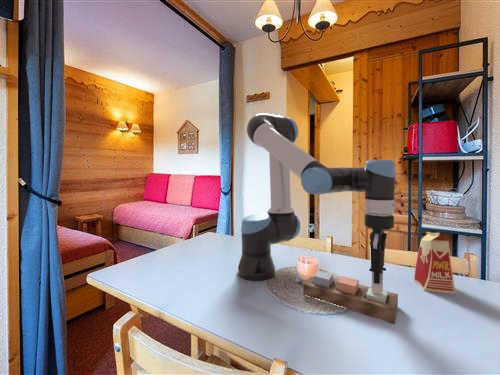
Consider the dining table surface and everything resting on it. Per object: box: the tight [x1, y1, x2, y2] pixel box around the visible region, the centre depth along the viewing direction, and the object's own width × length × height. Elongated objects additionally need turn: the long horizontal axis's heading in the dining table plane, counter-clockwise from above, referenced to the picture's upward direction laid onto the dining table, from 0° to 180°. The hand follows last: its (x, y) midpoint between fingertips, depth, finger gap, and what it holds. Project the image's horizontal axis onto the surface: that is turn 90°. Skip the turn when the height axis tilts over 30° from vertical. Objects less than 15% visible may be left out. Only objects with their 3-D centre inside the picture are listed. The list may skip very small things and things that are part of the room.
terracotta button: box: [338, 275, 360, 296], centre depth 75 cm, size 5×5×4 cm
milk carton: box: [413, 231, 457, 295], centre depth 84 cm, size 9×9×20 cm
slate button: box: [313, 270, 334, 288], centre depth 80 cm, size 5×5×4 cm
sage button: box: [366, 286, 389, 304], centre depth 71 cm, size 5×5×4 cm
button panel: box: [302, 276, 399, 325], centre depth 76 cm, size 26×10×4 cm, turn 54°
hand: (377, 292), depth 71 cm, fingers closed
